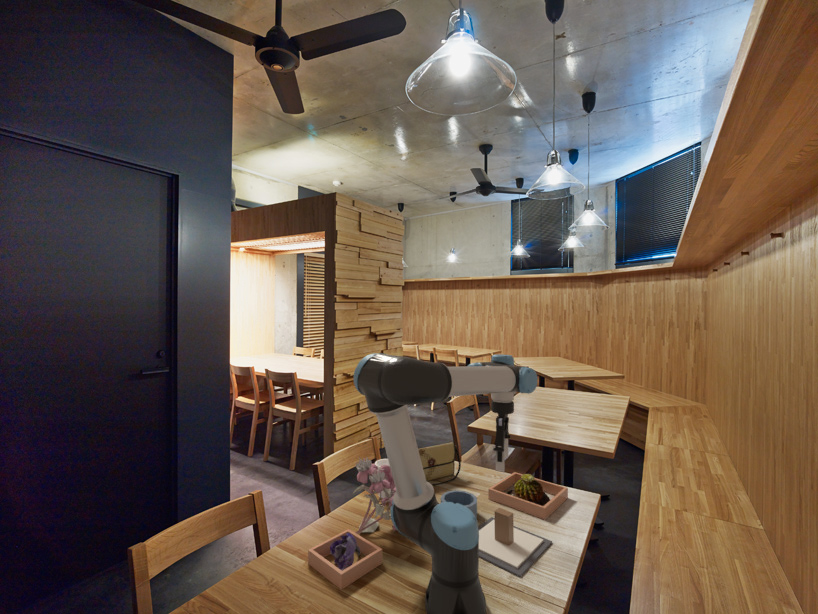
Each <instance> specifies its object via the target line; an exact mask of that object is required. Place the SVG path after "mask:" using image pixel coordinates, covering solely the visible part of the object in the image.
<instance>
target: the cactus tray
mask: <svg viewBox="0 0 818 614" xmlns="http://www.w3.org/2000/svg"><path fill="white" fill-rule="evenodd" d="M523 474H524V473H523ZM523 474H522V473H518V472H516V471H513V472H512V473H511V474H509V475H508V476H506V477H504V478H503V479H502V480H499V481H498V482H497V483H495V484H494V485H492V486H490V487H489V488H488V491H487V492H488V494H487V495H488V500H491V501H493V502H496V503H498V504H501V505H503V506H506V507H509V508H512V509H514V510H517V511H520V512H522V513H525V514H529V515H532V516H534V517H537V518H540V519H542V520H546V519H547V518H549V516H551V515H552V514H553V513H554V511H556V510H557V509H559V507H560V506H561V505H562V504H563V503H564V502H565V501H567V499H568V498H569V491H568V490H569V488H568V487H566V486H563V485H559V484H556V483H553V482H550V481H545V480H543V479H540V478H536V477H534V480H536V481H538V482H539V483H540V484H541V486H542V487H543V492H545V493H547V494H550V495H554V496H553V497H552V498H550V501H549V502H548V503H547V504H545V505H544V506H541V505H538V504H535V503H532V502H529V501H526V500H523V499H520V498H517V497H515V496H513V494H512V495H509V494H507V492H504V491H506V490H507V489H509V488H510V487H512V486H514V485H515V482H517V481H518V480H521V479H522V478H521V476H522V475H523Z"/></svg>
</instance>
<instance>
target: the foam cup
mask: <svg viewBox="0 0 818 614" xmlns="http://www.w3.org/2000/svg"><path fill="white" fill-rule="evenodd" d="M374 464H375V465H376V466H377V467H378V469H377V471H379V470H384V469H380V467H381V466H382V465H389V461H388V458H381V459H377V460H375V462H374ZM389 466H390V465H389ZM384 480H386V479H384ZM389 490H390V491H391V489H389ZM377 494H378V497H379V498H380V493H377ZM384 498H387V497H386V496H385V492H384V491H382V492H381V499H384Z"/></svg>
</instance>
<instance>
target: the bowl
mask: <svg viewBox="0 0 818 614" xmlns="http://www.w3.org/2000/svg"><path fill="white" fill-rule="evenodd" d="M443 502H453V503H454V504H456V503H459V504H461V505H464V506H465V507H467V508H468V509H470V510H471V511H472V512H473V513H474V515H475V517H476V519H477V518H478V497H477V496H476V495H475V494H474V493H471V492H469V491H466V490H459V489H458V490H457V489H454V490H447V491H446V492H444V493H442V494H441V497H440V503H443Z"/></svg>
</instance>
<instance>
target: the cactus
mask: <svg viewBox="0 0 818 614" xmlns="http://www.w3.org/2000/svg"><path fill="white" fill-rule="evenodd" d="M521 478H522V479H521V480H518V481H517V482H515V484H513V486H514V487H513V489H510V490H509V491H507V492H506V494H509V495H512V496H515V497H517V498H520V499H523V500H526V501H529V502H532V503H535V504H538V505H541V506H544V505H545V504H547V503H548V502H549V501H550V500H551V498H550V497H549V496H548V494H546V492H544V491H543V487H542V486H541V484H540V483H539V482H538V481H536V480H534V478H535V477H534V475H532V474H531V473H523V475H522V476H521Z"/></svg>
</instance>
